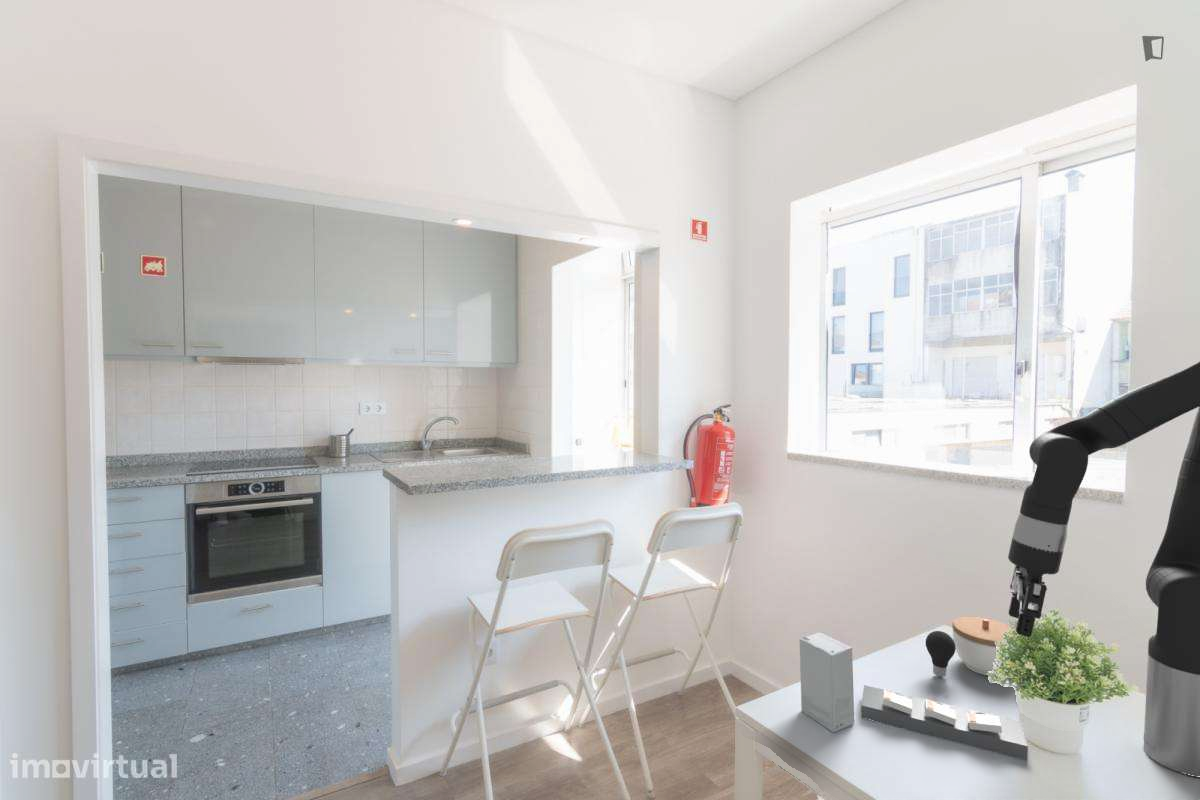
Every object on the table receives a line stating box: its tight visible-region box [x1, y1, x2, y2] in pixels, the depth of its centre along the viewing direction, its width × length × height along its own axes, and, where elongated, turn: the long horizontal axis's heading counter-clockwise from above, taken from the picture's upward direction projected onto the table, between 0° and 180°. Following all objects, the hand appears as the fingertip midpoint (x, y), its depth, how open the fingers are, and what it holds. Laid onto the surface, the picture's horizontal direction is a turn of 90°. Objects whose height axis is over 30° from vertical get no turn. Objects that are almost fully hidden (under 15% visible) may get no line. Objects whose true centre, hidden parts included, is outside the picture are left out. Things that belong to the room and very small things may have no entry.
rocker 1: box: [883, 689, 912, 714], centre depth 110 cm, size 5×3×1 cm
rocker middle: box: [924, 699, 956, 725], centre depth 107 cm, size 5×3×1 cm
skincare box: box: [799, 632, 855, 733], centre depth 111 cm, size 8×6×15 cm
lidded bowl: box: [951, 616, 1011, 677], centre depth 129 cm, size 13×13×11 cm
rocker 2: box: [967, 713, 1002, 733], centre depth 103 cm, size 5×3×1 cm
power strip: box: [860, 684, 1029, 761], centre depth 108 cm, size 26×8×3 cm, turn 62°
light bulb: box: [925, 630, 956, 679], centre depth 125 cm, size 6×6×10 cm
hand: (1018, 625), depth 107 cm, fingers open, 8 cm apart
